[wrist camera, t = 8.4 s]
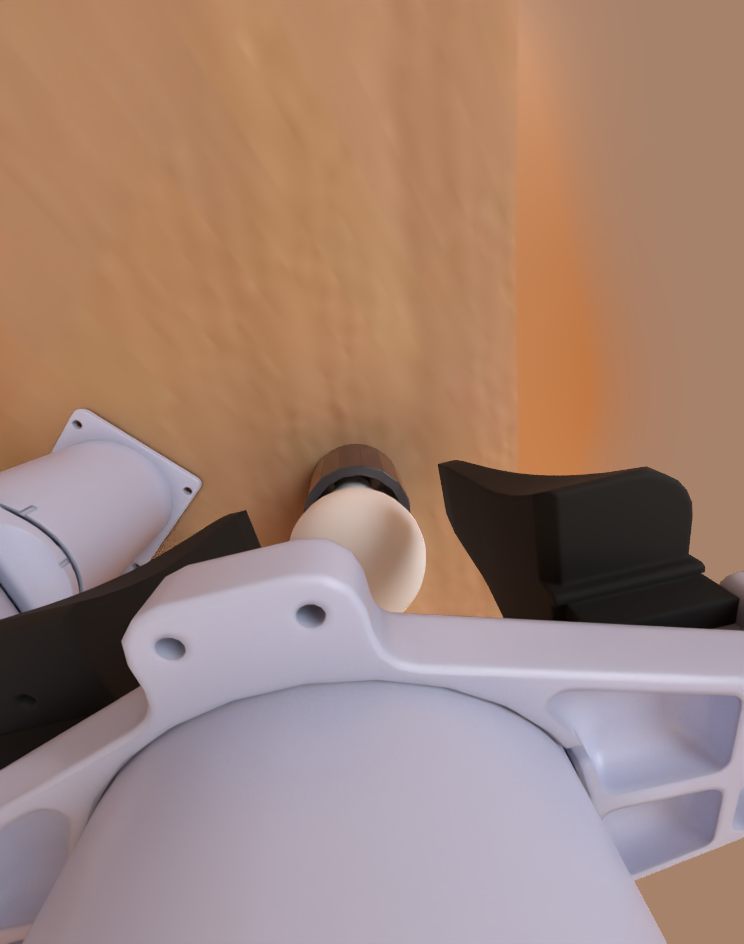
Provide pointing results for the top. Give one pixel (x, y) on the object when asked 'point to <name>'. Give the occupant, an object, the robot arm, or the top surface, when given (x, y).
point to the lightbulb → (371, 538)
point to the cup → (356, 473)
